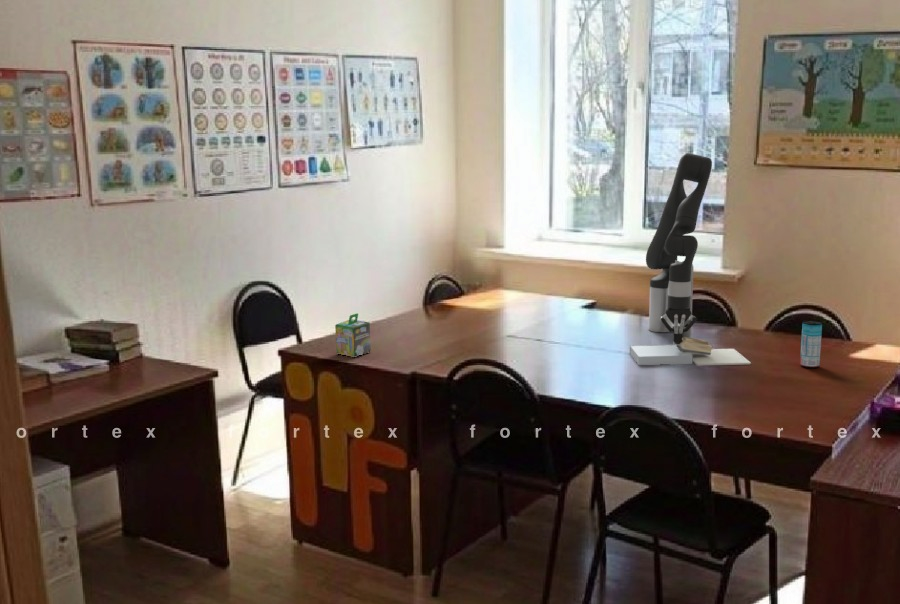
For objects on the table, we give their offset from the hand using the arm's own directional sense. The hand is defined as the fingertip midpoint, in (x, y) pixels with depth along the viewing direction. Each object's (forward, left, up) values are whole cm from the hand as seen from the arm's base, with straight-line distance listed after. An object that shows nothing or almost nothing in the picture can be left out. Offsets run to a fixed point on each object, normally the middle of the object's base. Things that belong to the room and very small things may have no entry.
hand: (677, 343), depth 301 cm
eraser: (-1, +6, -3) cm, 7 cm away
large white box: (0, -6, -5) cm, 8 cm away
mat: (0, +13, -5) cm, 14 cm away
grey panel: (-18, +6, -6) cm, 20 cm away
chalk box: (-16, -113, -6) cm, 114 cm away
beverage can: (+13, +40, -6) cm, 43 cm away
